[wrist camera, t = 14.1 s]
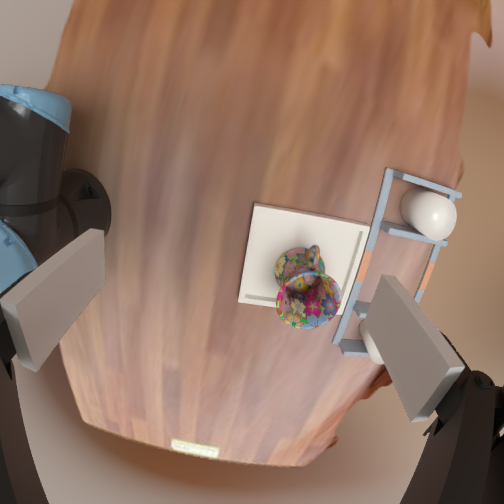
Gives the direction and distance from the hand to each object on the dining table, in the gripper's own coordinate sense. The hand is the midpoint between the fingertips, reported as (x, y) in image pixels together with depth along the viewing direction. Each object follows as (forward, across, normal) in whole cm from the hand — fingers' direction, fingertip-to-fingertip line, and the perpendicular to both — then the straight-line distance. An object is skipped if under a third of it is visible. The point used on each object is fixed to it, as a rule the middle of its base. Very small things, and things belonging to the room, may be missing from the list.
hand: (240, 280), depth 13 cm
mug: (+34, +11, -13) cm, 38 cm away
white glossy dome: (+35, +30, +1) cm, 46 cm away
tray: (+35, +11, -13) cm, 39 cm away
